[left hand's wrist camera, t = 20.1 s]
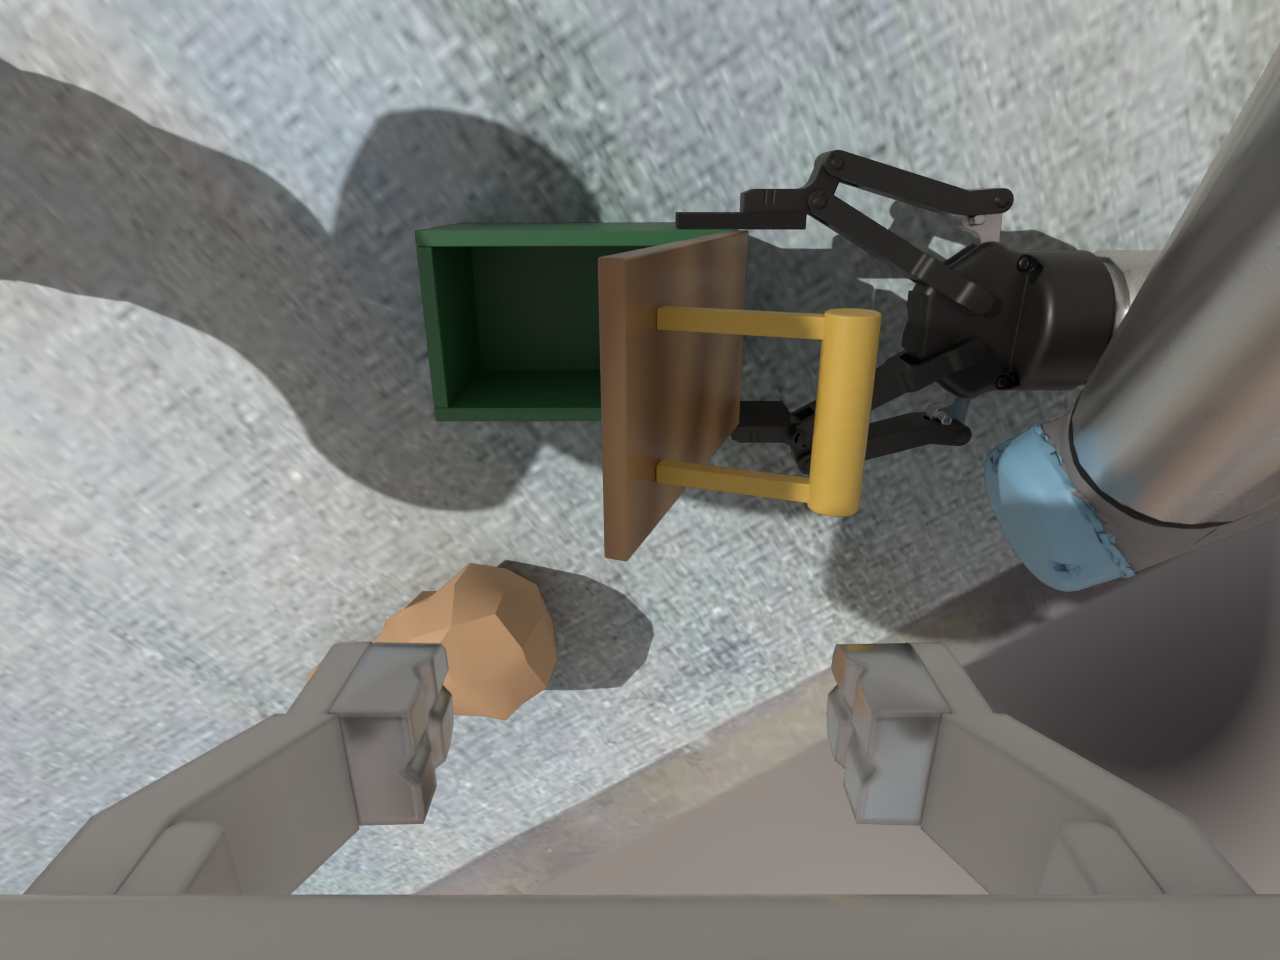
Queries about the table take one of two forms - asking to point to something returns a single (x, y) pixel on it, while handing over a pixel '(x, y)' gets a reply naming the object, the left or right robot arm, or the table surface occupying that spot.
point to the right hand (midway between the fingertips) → (674, 321)
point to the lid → (713, 385)
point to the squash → (483, 638)
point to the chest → (521, 315)
